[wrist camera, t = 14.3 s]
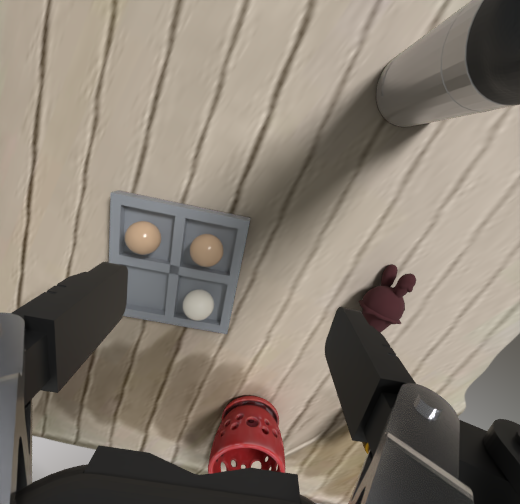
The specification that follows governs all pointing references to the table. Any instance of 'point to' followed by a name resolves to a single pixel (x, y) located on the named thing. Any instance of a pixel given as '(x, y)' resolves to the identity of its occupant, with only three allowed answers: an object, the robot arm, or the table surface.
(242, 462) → the plant pot
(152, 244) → the brown egg
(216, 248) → the brown egg
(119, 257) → the egg tray
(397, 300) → the icecream
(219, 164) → the table surface
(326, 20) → the table surface
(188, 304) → the pale egg
